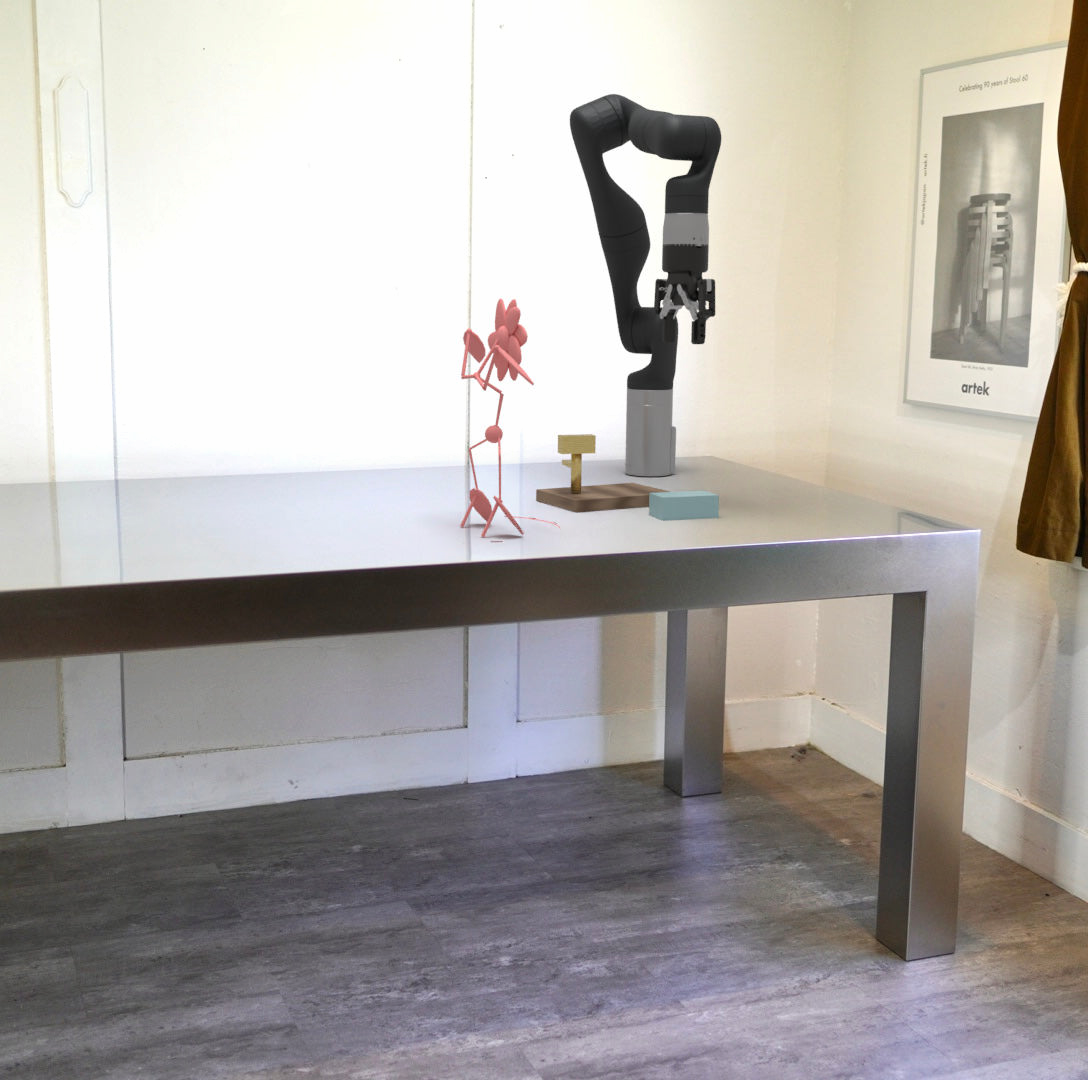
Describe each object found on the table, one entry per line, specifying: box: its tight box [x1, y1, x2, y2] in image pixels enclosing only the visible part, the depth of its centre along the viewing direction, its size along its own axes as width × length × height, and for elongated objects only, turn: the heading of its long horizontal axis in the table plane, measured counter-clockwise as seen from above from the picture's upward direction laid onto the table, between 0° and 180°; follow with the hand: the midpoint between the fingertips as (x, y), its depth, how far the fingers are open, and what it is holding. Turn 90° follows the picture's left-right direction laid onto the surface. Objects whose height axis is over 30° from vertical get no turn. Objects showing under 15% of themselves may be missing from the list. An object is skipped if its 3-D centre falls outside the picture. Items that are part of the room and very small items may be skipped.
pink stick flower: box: [459, 298, 561, 543], centre depth 202 cm, size 15×26×35 cm, turn 24°
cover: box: [648, 490, 720, 521], centre depth 219 cm, size 10×5×4 cm, turn 108°
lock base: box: [535, 482, 671, 513], centre depth 233 cm, size 20×14×2 cm
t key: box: [557, 433, 597, 493], centre depth 231 cm, size 7×6×10 cm
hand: (683, 343), depth 221 cm, fingers open, 8 cm apart
